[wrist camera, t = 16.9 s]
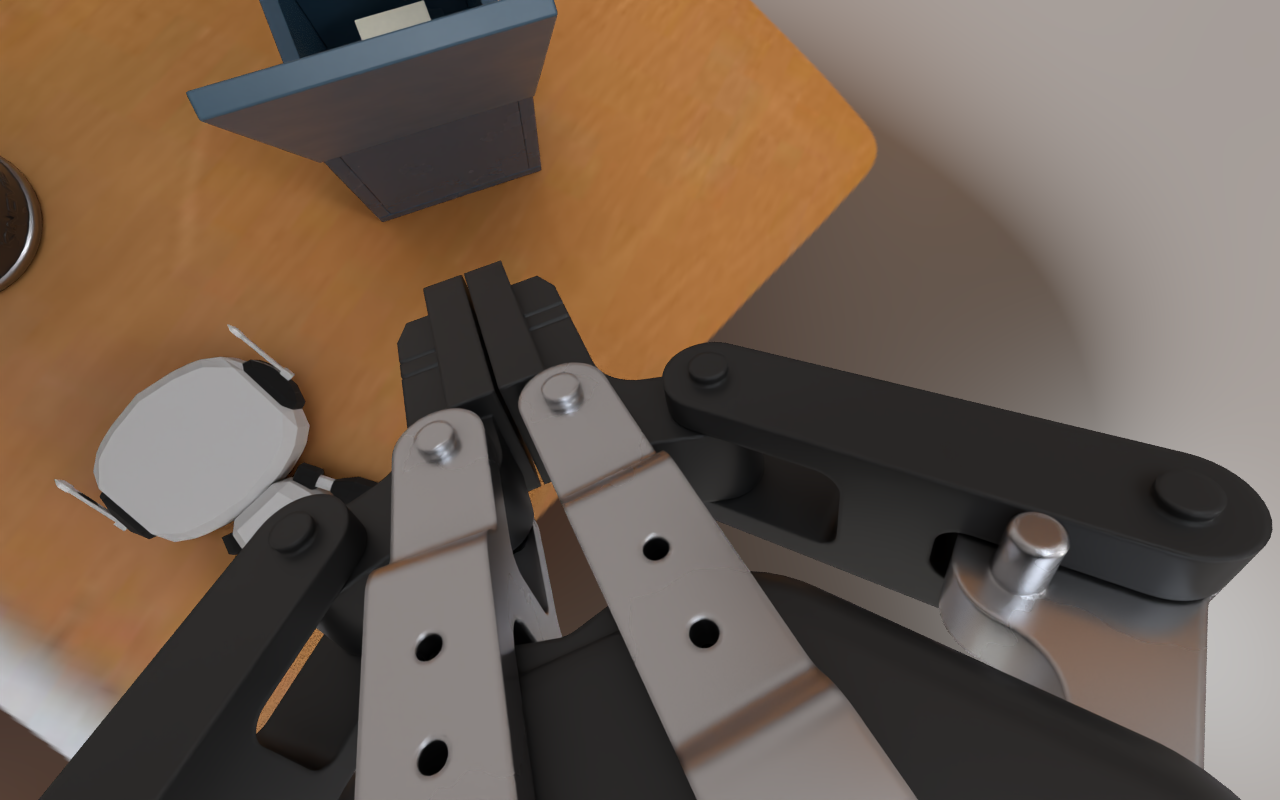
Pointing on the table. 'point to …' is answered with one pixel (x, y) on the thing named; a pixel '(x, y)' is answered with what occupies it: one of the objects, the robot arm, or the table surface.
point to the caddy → (424, 161)
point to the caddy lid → (388, 82)
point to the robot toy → (210, 453)
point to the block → (392, 20)
